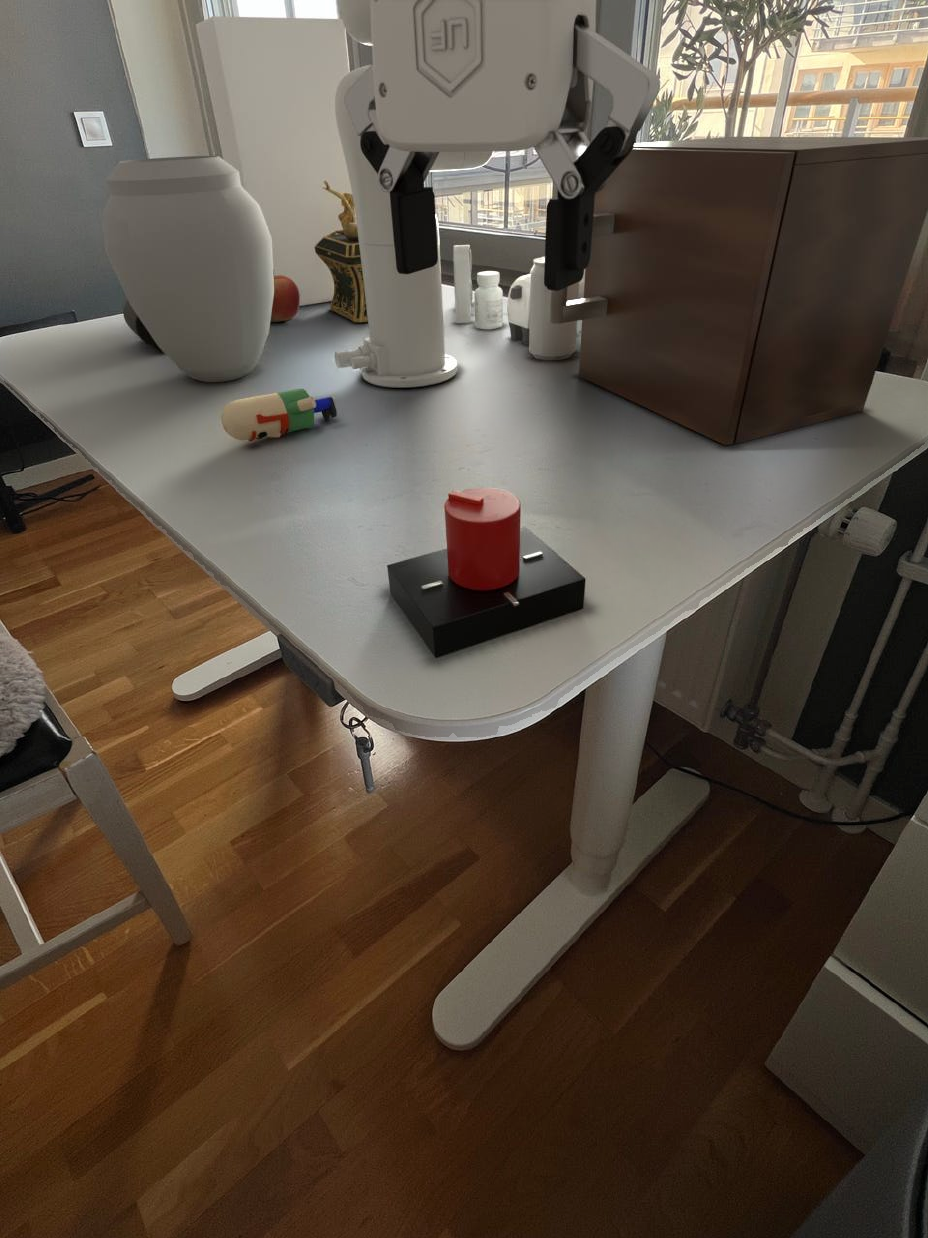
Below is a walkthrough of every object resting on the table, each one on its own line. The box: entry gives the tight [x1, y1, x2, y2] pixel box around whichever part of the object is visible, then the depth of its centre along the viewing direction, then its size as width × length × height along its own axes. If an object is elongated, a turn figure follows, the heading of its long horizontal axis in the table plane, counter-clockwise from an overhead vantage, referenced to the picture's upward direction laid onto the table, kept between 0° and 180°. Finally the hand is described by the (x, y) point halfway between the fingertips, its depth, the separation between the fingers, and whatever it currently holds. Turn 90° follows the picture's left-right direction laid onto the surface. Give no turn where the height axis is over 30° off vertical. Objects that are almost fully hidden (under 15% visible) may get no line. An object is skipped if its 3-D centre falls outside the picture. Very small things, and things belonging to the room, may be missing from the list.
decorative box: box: [315, 181, 368, 324], centre depth 110 cm, size 20×10×20 cm, turn 29°
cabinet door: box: [550, 148, 795, 446], centre depth 67 cm, size 8×26×24 cm, turn 26°
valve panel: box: [386, 526, 587, 659], centre depth 46 cm, size 11×9×3 cm
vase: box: [101, 155, 274, 383], centre depth 85 cm, size 20×20×24 cm
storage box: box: [195, 16, 357, 307], centre depth 118 cm, size 21×10×40 cm, turn 121°
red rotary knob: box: [443, 486, 522, 591], centre depth 44 cm, size 5×5×5 cm
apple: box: [270, 269, 300, 323], centre depth 113 cm, size 8×8×8 cm
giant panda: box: [506, 269, 585, 346], centre depth 99 cm, size 15×6×10 cm, turn 121°
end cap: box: [122, 299, 164, 353], centre depth 103 cm, size 10×7×7 cm
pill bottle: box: [473, 270, 504, 331], centre depth 105 cm, size 4×4×8 cm
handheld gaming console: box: [452, 244, 474, 324], centre depth 113 cm, size 11×3×15 cm
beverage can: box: [528, 256, 579, 361], centre depth 90 cm, size 6×6×12 cm
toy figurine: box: [220, 388, 338, 442], centre depth 72 cm, size 8×4×12 cm
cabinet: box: [633, 136, 928, 445], centre depth 72 cm, size 18×26×24 cm
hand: (486, 276), depth 37 cm, fingers open, 9 cm apart
